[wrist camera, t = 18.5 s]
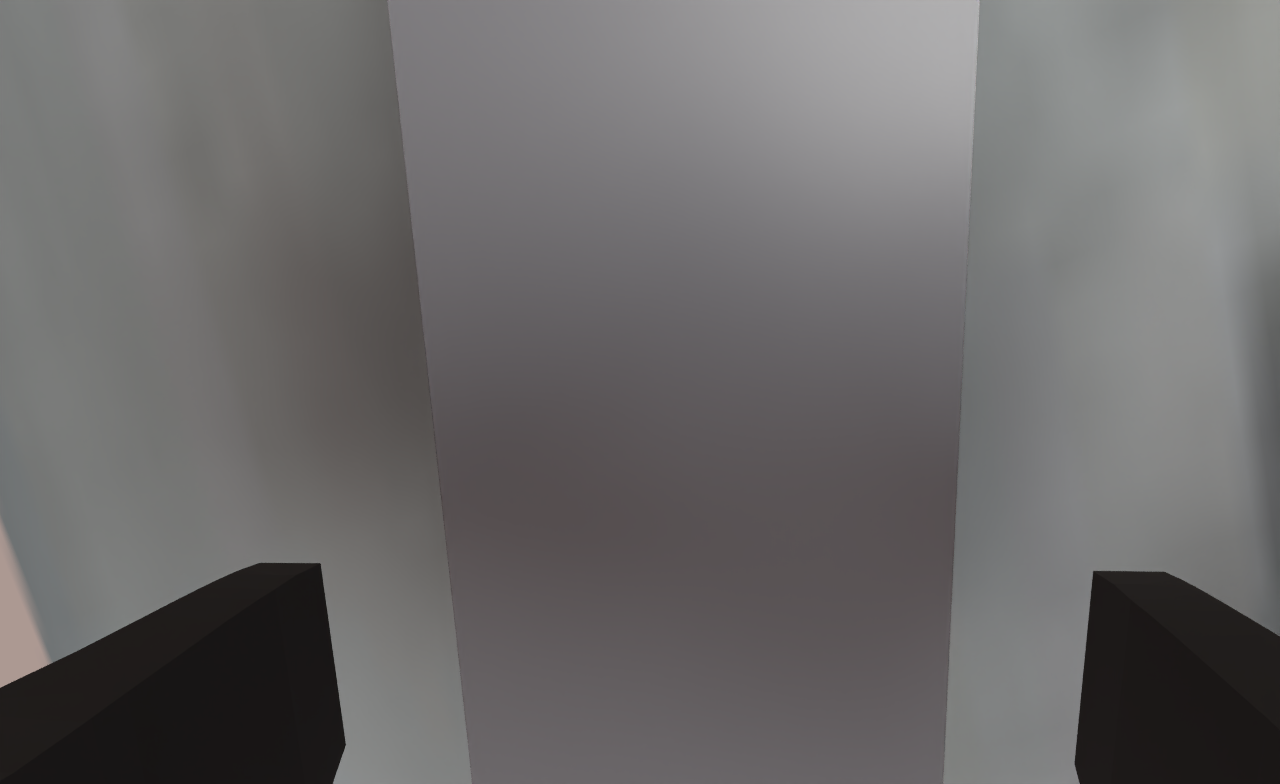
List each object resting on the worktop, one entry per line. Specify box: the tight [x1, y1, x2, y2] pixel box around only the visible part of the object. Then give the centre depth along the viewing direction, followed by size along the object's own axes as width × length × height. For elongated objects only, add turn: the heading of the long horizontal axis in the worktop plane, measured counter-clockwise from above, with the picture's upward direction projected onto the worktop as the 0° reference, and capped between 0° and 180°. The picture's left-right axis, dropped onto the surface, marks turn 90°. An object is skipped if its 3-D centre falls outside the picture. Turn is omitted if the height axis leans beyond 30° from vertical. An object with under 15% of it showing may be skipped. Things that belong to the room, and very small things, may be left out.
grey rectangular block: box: [387, 0, 980, 784], centre depth 16 cm, size 6×12×6 cm, turn 3°
